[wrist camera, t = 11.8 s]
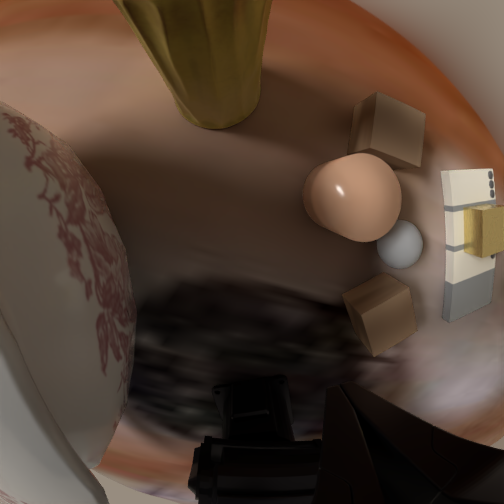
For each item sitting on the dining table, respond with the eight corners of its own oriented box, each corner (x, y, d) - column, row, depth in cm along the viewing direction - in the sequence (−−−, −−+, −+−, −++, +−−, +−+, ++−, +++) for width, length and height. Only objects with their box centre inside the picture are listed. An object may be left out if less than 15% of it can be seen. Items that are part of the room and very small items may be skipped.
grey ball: (406, 257, 21) (432, 268, 17) (370, 266, 20) (392, 279, 17) (404, 214, 20) (430, 219, 16) (366, 220, 20) (390, 226, 16)
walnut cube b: (391, 170, 19) (420, 167, 15) (346, 154, 19) (370, 147, 15) (397, 123, 18) (425, 114, 14) (353, 106, 18) (377, 91, 14)
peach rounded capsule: (370, 224, 20) (405, 234, 15) (308, 235, 20) (330, 249, 15) (360, 158, 19) (394, 150, 14) (296, 165, 19) (316, 157, 14)
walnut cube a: (393, 310, 22) (417, 330, 18) (354, 332, 22) (373, 357, 18) (383, 271, 21) (408, 287, 17) (341, 294, 21) (361, 315, 17)
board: (484, 299, 22) (491, 303, 21) (442, 318, 22) (449, 323, 21) (484, 168, 19) (493, 168, 18) (440, 170, 19) (449, 170, 18)
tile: (487, 244, 20) (505, 249, 17) (464, 252, 19) (482, 258, 17) (487, 203, 19) (505, 205, 16) (463, 207, 19) (482, 210, 16)
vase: (277, 96, 18) (345, -45, 4) (210, 147, 18) (145, 45, 4) (224, 42, 16) (213, -106, 2) (158, 90, 17) (58, -28, 3)
